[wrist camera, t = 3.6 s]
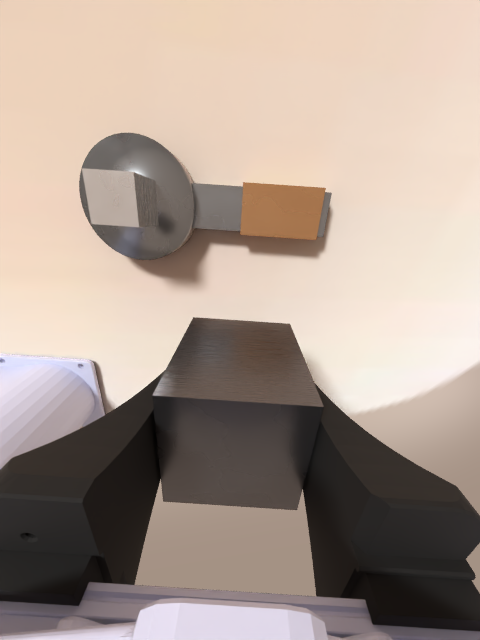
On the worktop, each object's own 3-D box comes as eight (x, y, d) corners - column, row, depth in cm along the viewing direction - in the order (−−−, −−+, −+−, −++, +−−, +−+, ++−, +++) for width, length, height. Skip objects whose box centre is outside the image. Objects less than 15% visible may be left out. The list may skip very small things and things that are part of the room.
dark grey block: (194, 394, 15) (163, 501, 9) (193, 317, 13) (152, 395, 7) (277, 399, 15) (296, 509, 9) (289, 323, 13) (323, 406, 7)
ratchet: (105, 252, 18) (59, 264, 13) (87, 138, 15) (21, 105, 11) (312, 266, 18) (333, 283, 13) (333, 155, 15) (368, 129, 11)
